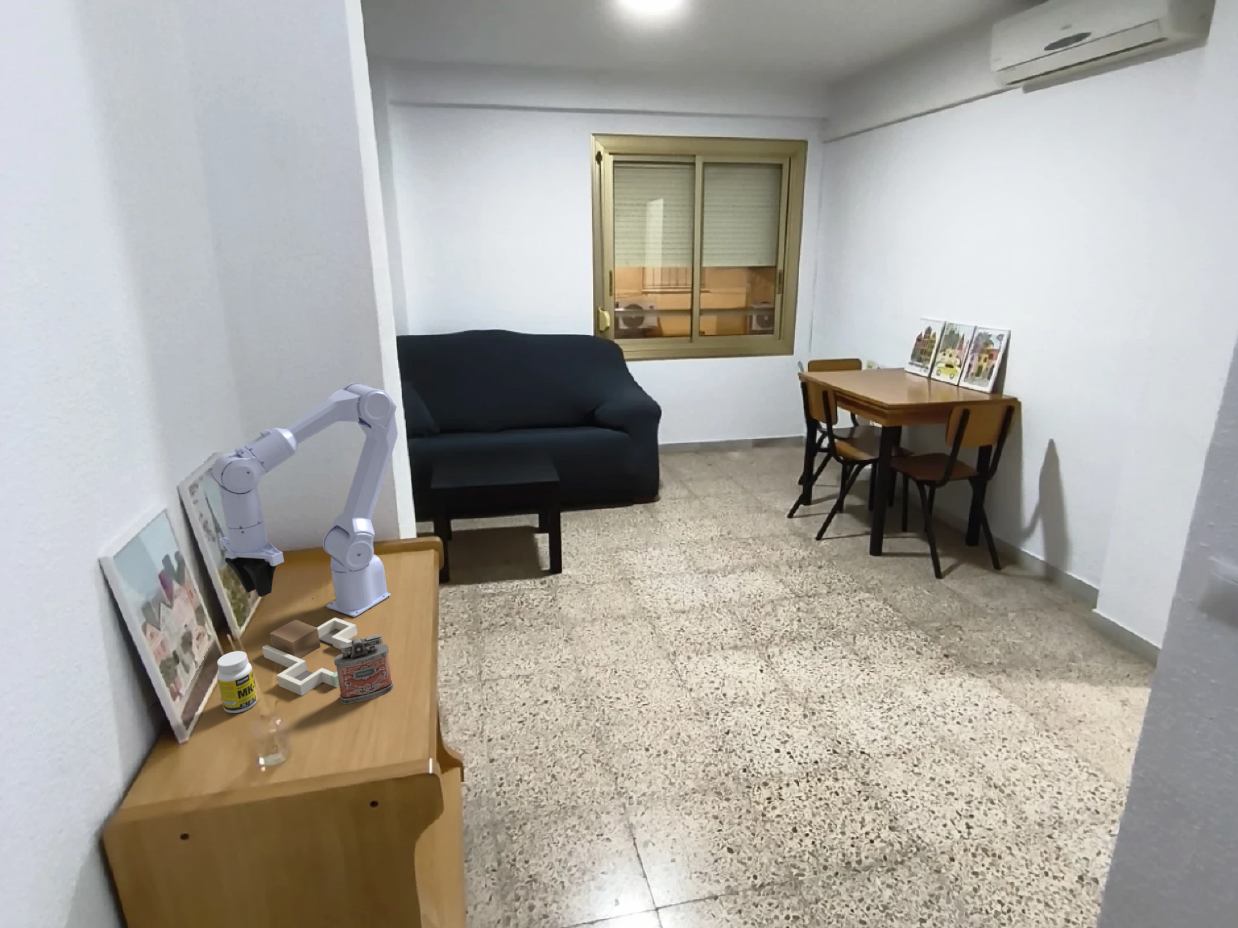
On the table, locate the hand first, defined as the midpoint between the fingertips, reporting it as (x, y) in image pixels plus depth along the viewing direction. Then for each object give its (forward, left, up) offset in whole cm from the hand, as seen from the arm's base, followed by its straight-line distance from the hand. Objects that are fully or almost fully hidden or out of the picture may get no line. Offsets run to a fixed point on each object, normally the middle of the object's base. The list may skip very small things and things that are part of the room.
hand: (258, 592), depth 119 cm
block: (0, +8, -10) cm, 12 cm away
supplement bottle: (+14, +13, -10) cm, 21 cm away
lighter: (+3, +29, -10) cm, 30 cm away
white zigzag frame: (0, +14, -9) cm, 17 cm away
